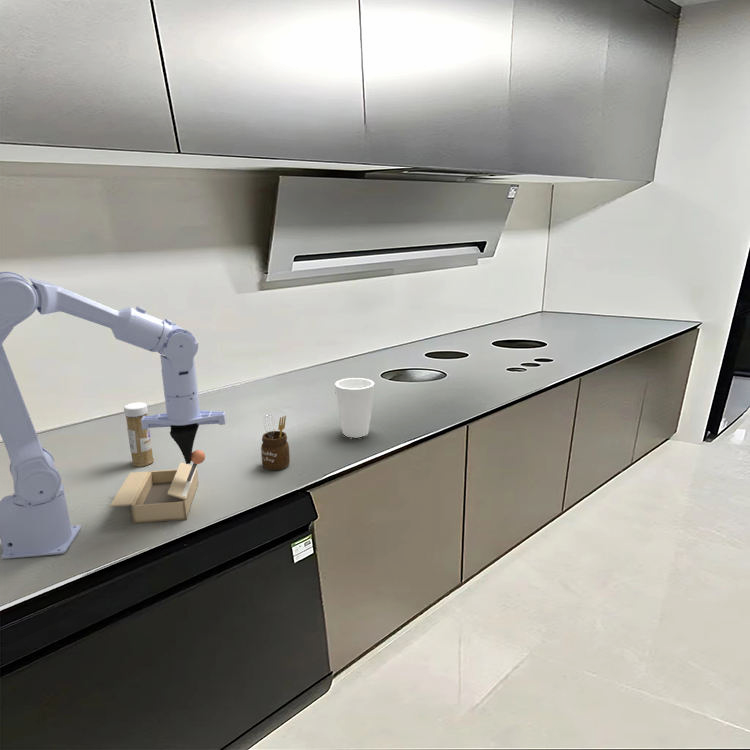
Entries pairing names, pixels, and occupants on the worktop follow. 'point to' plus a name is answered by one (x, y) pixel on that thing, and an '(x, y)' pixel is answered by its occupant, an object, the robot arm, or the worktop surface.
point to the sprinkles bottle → (138, 434)
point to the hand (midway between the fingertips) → (189, 461)
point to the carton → (154, 497)
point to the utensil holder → (275, 448)
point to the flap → (185, 476)
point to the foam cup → (355, 405)
